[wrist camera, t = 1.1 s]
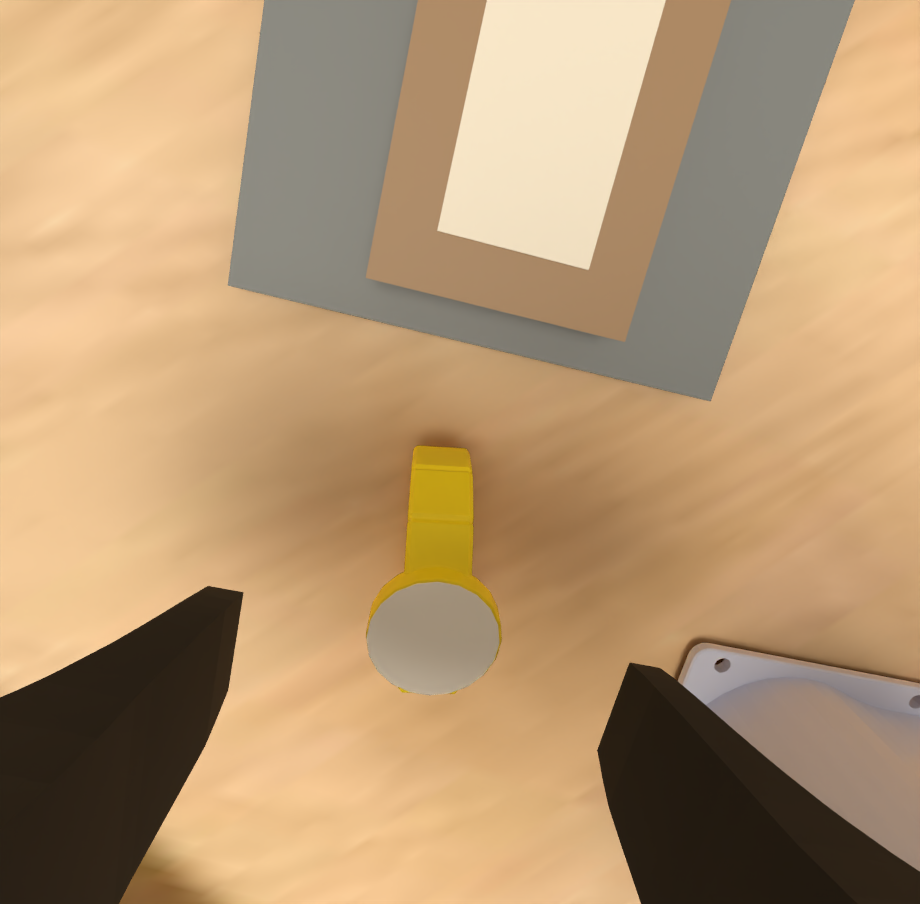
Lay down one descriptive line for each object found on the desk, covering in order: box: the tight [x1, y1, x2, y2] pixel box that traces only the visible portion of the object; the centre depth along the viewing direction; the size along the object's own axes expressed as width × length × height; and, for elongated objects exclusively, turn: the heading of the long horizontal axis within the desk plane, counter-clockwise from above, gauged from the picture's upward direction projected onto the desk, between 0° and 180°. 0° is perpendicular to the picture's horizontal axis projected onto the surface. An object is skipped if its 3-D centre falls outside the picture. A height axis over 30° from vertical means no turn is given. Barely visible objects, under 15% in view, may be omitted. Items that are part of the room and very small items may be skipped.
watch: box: [366, 445, 502, 695], centre depth 15 cm, size 6×3×6 cm, turn 176°
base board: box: [228, 0, 855, 401], centre depth 13 cm, size 13×11×3 cm
